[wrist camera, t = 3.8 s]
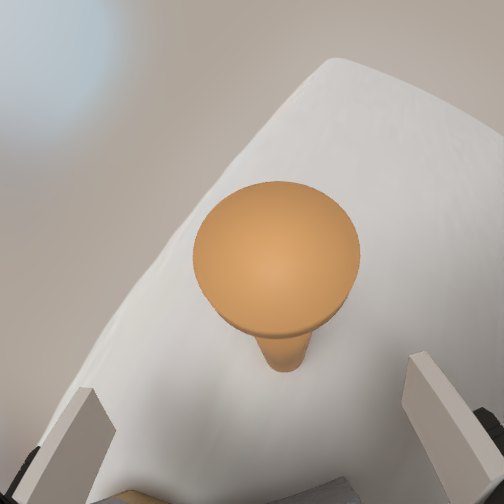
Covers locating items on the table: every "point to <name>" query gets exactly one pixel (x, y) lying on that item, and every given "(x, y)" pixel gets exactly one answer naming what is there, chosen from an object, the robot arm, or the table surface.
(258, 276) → the hinge pin
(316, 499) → the hinge leaf
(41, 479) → the robot arm
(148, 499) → the hinge leaf
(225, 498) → the table surface
